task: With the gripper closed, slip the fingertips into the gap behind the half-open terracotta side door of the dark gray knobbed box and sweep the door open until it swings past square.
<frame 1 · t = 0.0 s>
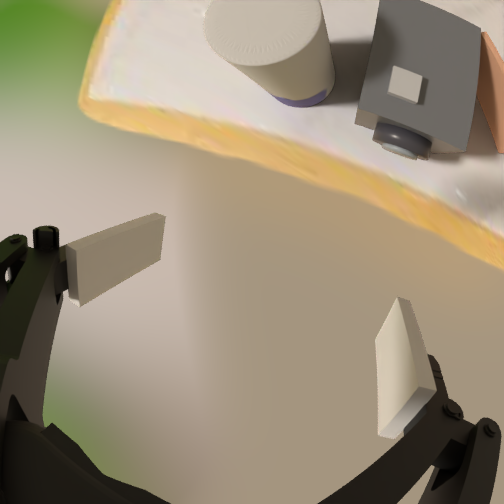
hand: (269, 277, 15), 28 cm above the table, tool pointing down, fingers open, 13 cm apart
side door: (499, 96, 22), point 6 cm above the table, hinge at 40.0°
dark gray knobbed box: (407, 86, 31), on the table
container: (300, 75, 36), on the table
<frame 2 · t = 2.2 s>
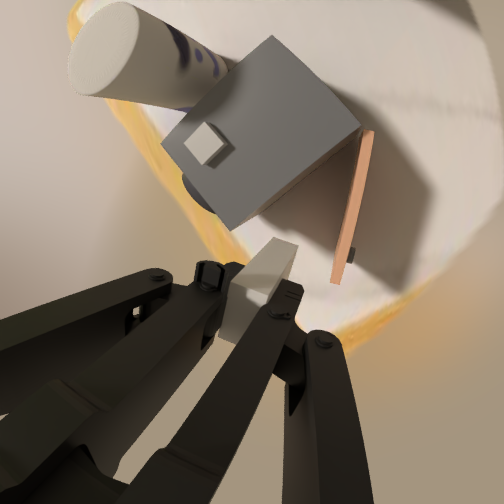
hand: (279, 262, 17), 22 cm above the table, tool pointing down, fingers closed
side door: (357, 203, 30), point 6 cm above the table, hinge at 40.0°
dark gray knobbed box: (279, 138, 36), on the table
container: (197, 81, 37), on the table
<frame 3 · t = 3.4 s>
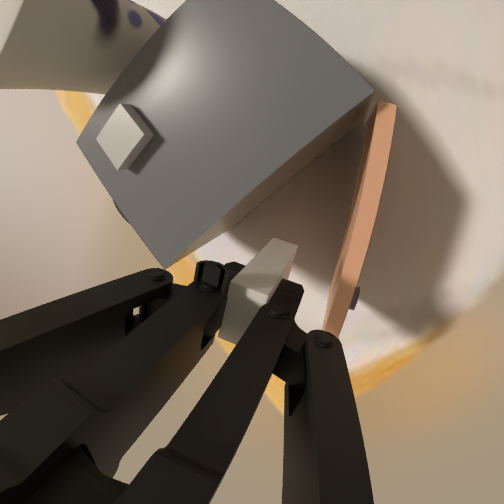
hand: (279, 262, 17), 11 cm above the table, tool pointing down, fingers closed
side door: (364, 222, 19), point 6 cm above the table, hinge at 40.0°
dark gray knobbed box: (253, 126, 25), on the table
container: (151, 59, 26), on the table
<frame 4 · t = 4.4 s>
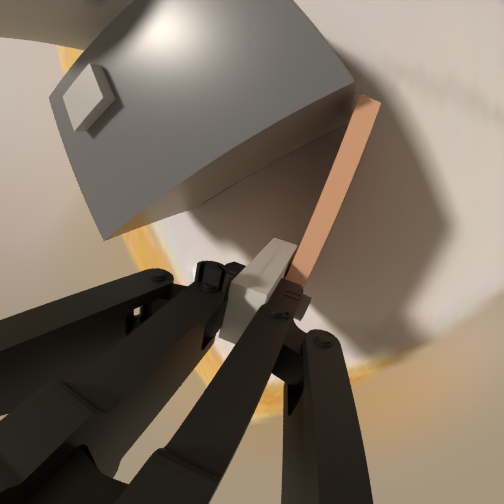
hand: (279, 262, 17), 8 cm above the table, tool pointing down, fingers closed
side door: (327, 229, 18), point 6 cm above the table, hinge at 40.5°, touching gripper
dark gray knobbed box: (234, 106, 23), on the table
container: (150, 24, 23), on the table
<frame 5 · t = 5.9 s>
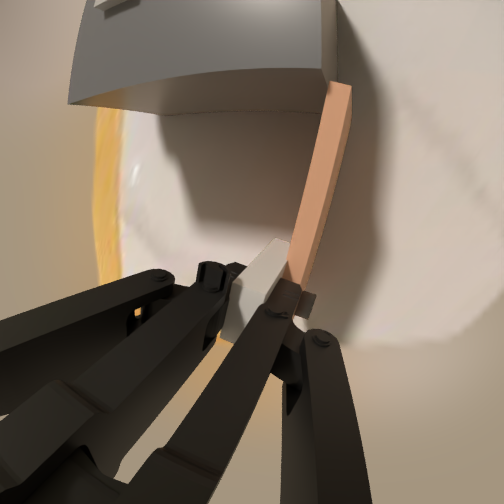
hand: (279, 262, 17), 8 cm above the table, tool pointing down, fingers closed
side door: (322, 223, 18), point 6 cm above the table, hinge at 80.5°, touching gripper
dark gray knobbed box: (245, 50, 21), on the table
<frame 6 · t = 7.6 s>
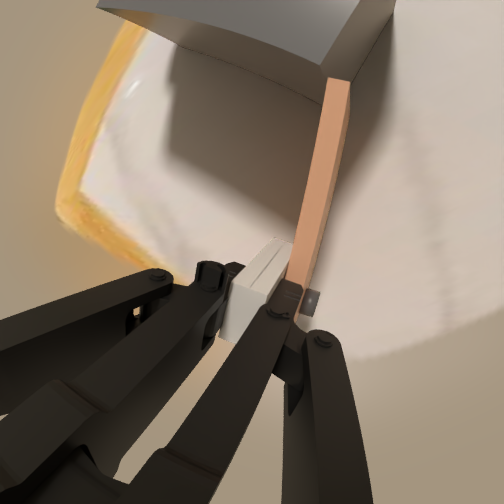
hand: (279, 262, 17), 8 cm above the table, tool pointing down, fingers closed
side door: (324, 219, 18), point 6 cm above the table, hinge at 108.3°, touching gripper
dark gray knobbed box: (282, 19, 19), on the table
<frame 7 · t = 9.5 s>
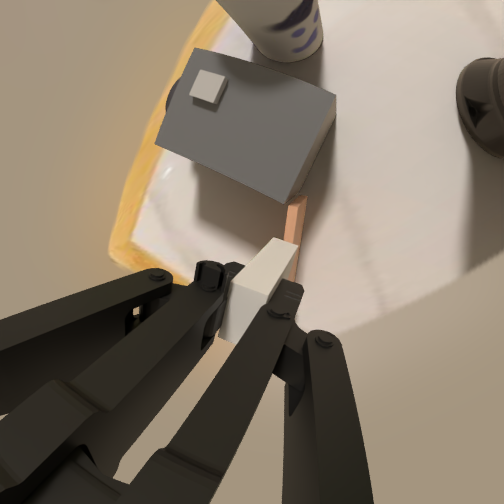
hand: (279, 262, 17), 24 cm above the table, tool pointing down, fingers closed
side door: (294, 260, 36), point 6 cm above the table, hinge at 108.3°
dark gray knobbed box: (264, 128, 38), on the table
container: (288, 34, 33), on the table
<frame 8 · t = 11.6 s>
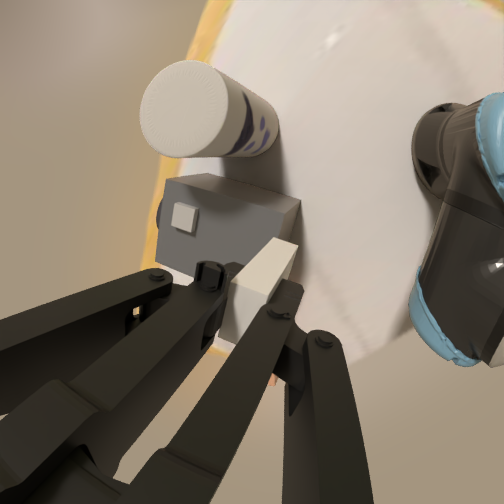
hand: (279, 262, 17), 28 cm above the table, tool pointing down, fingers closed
side door: (281, 330, 45), point 6 cm above the table, hinge at 108.3°
dark gray knobbed box: (243, 220, 48), on the table
container: (247, 126, 43), on the table
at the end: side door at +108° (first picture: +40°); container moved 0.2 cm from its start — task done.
